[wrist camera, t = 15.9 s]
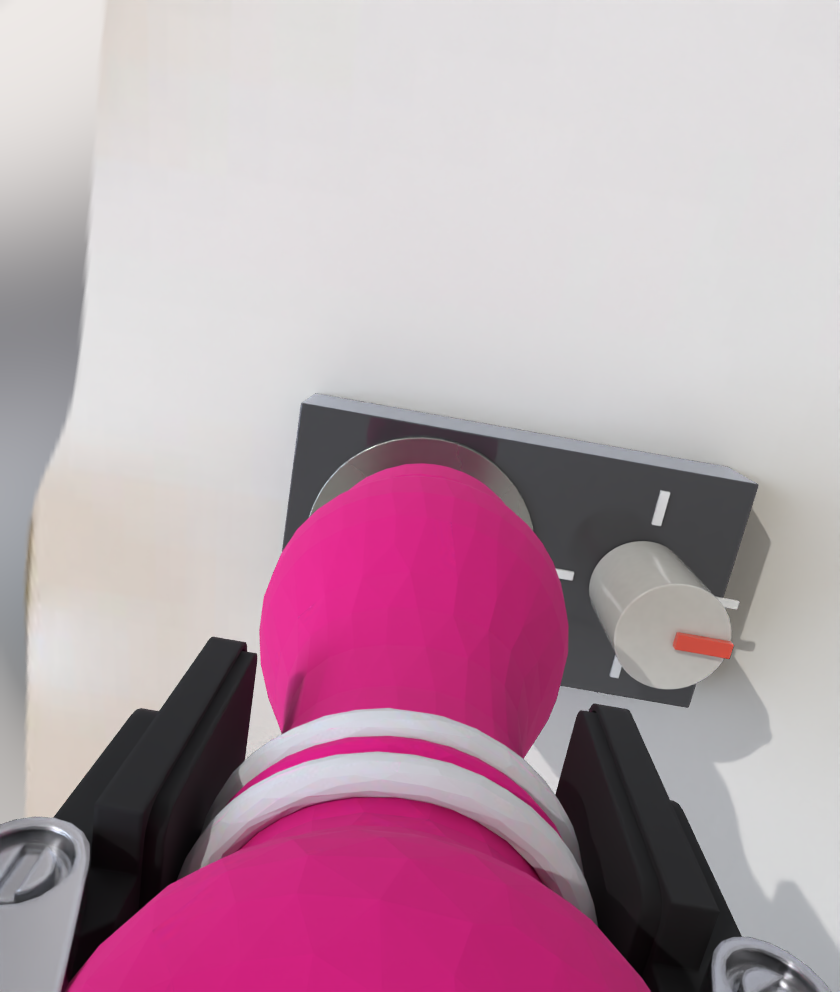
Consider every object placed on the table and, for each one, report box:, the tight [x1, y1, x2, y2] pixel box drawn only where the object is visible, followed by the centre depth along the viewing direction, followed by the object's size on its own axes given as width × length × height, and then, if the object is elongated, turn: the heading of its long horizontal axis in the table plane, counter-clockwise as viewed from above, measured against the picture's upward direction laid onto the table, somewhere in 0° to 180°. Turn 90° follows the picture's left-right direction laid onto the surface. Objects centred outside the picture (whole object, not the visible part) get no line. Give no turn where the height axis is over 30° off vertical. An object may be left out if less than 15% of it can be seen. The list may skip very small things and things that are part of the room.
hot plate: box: [282, 393, 758, 708], centre depth 30 cm, size 19×10×3 cm, turn 80°
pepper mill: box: [65, 463, 651, 992], centre depth 11 cm, size 7×7×20 cm
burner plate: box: [309, 436, 534, 532], centre depth 28 cm, size 9×9×1 cm
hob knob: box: [589, 541, 734, 689], centre depth 26 cm, size 4×4×5 cm
